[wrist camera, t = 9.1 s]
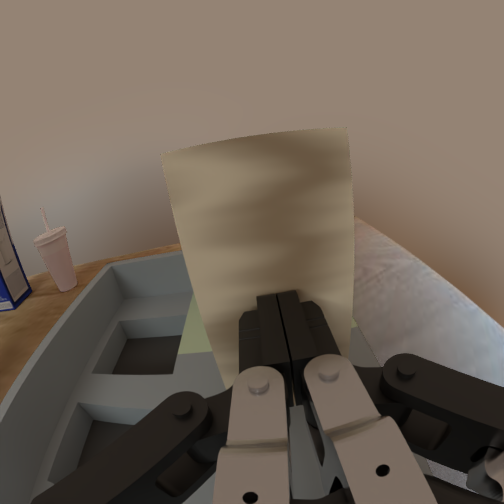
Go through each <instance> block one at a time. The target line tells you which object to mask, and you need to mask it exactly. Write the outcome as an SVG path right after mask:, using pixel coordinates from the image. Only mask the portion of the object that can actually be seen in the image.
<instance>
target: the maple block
mask: <svg viewBox="0 0 504 504" xmlns="http://www.w3.org/2000/svg"><path fill="white" fill-rule="evenodd" d="M160 155H161V160H162V165H163V170H164V175H165V180H166V185H167V189H168V194H169V198H170V203H171V207H172V212H173V216H174V220H175V224H176V228H177V232H178V236H179V240H180V244H181V248H182V252H183V256H184V259H185V263H186V267H187V270H188V274H189V277H190V281H191V284H192V288H193V291H194V295H195V298H196V301H197V305H198V308H199V311H200V314H201V318H202V321H203V324H204V327H205V330H206V333H207V336H208V339H209V342H210V345H211V348H212V351H213V354H214V357H215V360H216V363H217V366H218V369H219V371H220V374H221V377H222V380H223V382H224V385H225V388H226V390H227V389H229V388H230V387H231V386H232V385H233V383H234V381H235V379H236V377H237V376H238V375H239V319H240V318H241V316H242V314H243V313H244V312H245V311H252V310H257V300H256V296H262V295H269V294H275V295H276V299H277V293H281V292H287V291H293V290H296V292H297V295H298V297H299V300H300V302H306V301H311V300H312V301H313V302H314V303H316V304H317V305H318V306H319V307H321V310H322V312H323V314H324V317H325V319H326V321H327V323H328V326H329V328H330V330H331V332H332V335H333V337H334V339H335V342H336V344H337V346H338V349H339V351H340V353H341V355H342V357H345V358H346V359H348V356H349V346H350V336H351V324H352V309H353V290H354V209H353V188H352V175H351V162H350V151H349V142H348V133H347V127H345V128H344V127H343V128H323V129H309V130H297V131H287V132H278V133H269V134H262V135H254V136H247V137H241V138H235V139H229V140H224V141H217V142H212V143H207V144H202V145H197V146H193V147H188V148H184V149H179V150H175V151H170V152H167V153H162V154H160ZM277 304H278V301H277ZM292 389H293V388H292ZM293 400H294V405H296V403H295V398H294V393H293Z"/></svg>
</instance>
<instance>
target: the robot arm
mask: <svg viewBox="0 0 504 504" xmlns="http://www.w3.org/2000/svg"><path fill="white" fill-rule="evenodd" d="M256 300H257V310H252V311H245V312H244V313H243V314H242V316H241V318H240V319H239V375H238V376H237V377H236V379H235V381H234V383H233V385H232V386H231V387H230V388H229V389H227V390H225V391H224V392H222V393H219V394H216V395H213V396H210V397H208V398H203V397H202V396H201V395H200V394H198V393H195V392H191V391H182V392H177V393H175V394H172V395H170V396H169V397H167V398H166V399H165V400H164V401H163V402H161V403H160V404H159V405H158V406H157V407H156V408H154V409H153V410H152V411H151V412H150V413H148V414H147V415H146V416H145V417H144V418H142V419H141V420H140V421H139V422H137V423H136V424H135V425H134V426H132V427H131V428H130V429H129V430H127V431H126V432H125V433H124V434H122V435H121V436H120V437H119V438H117V439H116V440H115V441H114V442H112V443H111V444H110V445H108V446H107V447H106V448H104V449H103V450H102V451H101V452H99V453H98V454H97V455H95V456H94V457H93V458H91V459H90V460H88V461H87V462H86V463H84V464H83V465H82V466H80V467H79V468H77V469H76V470H75V471H73V472H72V473H70V474H69V475H68V476H66V477H65V478H63V479H62V480H60V481H59V482H57V483H56V484H54V485H53V486H51V487H50V488H48V489H47V490H45V491H44V492H42V493H41V494H39V495H38V496H36V497H35V498H34V499H33V500H32V502H31V504H182V503H183V502H185V501H186V500H187V499H188V498H189V497H190V496H191V495H192V494H193V493H194V492H195V491H197V490H198V489H199V488H200V487H201V486H202V485H203V484H204V483H205V482H206V481H207V480H208V479H209V478H210V477H211V476H212V475H213V474H214V473H215V472H216V476H215V485H214V493H213V502H212V504H504V387H501V386H498V385H495V384H492V383H489V382H486V381H483V380H481V379H478V378H475V377H472V376H469V375H467V374H464V373H461V372H458V371H456V370H453V369H450V368H448V367H445V366H442V365H440V364H437V363H434V362H432V361H429V360H426V359H424V358H421V357H419V356H416V355H413V354H407V353H404V354H397V355H395V356H393V357H391V358H390V359H388V360H387V361H386V363H385V364H384V367H359V366H356V365H353V364H351V362H350V361H349V360H348V359H346V358H345V357H342V355H341V353H340V351H339V349H338V346H337V344H336V342H335V339H334V337H333V335H332V332H331V330H330V328H329V326H328V323H327V321H326V319H325V317H324V314H323V312H322V310H321V307H319V306H318V305H317V304H316V303H314V302H313V301H312V300H311V301H306V302H300V300H299V297H298V295H297V292H296V290H293V291H287V292H281V293H277V299H276V295H275V294H269V295H262V296H256ZM277 301H278V304H277ZM292 388H293V389H292ZM293 393H294V398H295V403H296V406H299V405H303V408H304V412H305V424H306V428H307V431H308V434H309V437H310V440H311V444H312V447H313V450H314V453H315V457H316V460H317V463H318V466H319V470H320V476H321V482H322V486H323V490H324V493H325V496H324V497H322V498H319V499H313V500H312V499H294V495H293V479H292V462H291V444H290V428H289V427H290V424H291V418H290V408H289V407H294V400H293ZM412 452H413V453H415V454H418V455H420V456H422V457H424V458H427V459H429V460H432V461H434V462H437V463H439V464H442V465H444V466H447V467H449V468H452V469H455V470H457V471H460V472H463V473H466V474H468V476H467V481H466V486H467V488H468V489H472V490H473V491H475V492H477V493H479V494H477V493H474V492H471V491H469V490H466V489H463V488H461V487H458V486H456V485H453V484H451V483H448V482H446V481H444V480H441V479H439V478H437V477H434V476H431V475H427V474H423V473H422V471H421V469H420V467H419V465H418V463H417V461H416V459H415V457H414V455H413V454H412Z"/></svg>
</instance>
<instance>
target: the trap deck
mask: <svg viewBox="0 0 504 504" xmlns="http://www.w3.org/2000/svg"><path fill="white" fill-rule="evenodd" d="M348 360H349V361H350V362H351V364H353V365H356V366H359V367H381V366H380V364H379V363H378V361H377V359H376V357H375V355H374V353H373V352H372V350H371V348H370V346H369V344H368V343H367V341H366V339H365V337H364V335H363V334H362V332H361V330H360V328H359V327H358V325H357V323H356V321H355V320H354V318H353V316H352V324H351V336H350V346H349V356H348ZM225 390H226V388H225V385H224V382H223V380H222V377H221V374H220V371H219V369H218V366H217V363H216V360H215V357H214V354H213V351H212V348H211V345H210V342H209V339H208V336H207V333H206V330H205V327H204V324H203V321H202V318H201V314H200V311H199V308H198V305H197V301H196V298H195V295H194V291H193V288H192V284H191V281H190V277H189V274H188V270H187V267H186V263H185V259H184V256H183V252H182V250H181V251H175V252H169V253H163V254H157V255H152V256H146V257H140V258H134V259H129V260H123V261H117V262H112V263H107V264H106V265H105V266H104V267H103V268H102V269H101V271H100V272H99V273H98V274H97V275H96V276H95V277H94V278H93V279H92V281H91V282H90V283H89V284H88V285H87V286H86V287H85V288H84V290H83V291H82V292H81V293H80V294H79V295H78V297H77V298H76V299H75V300H74V301H73V303H72V304H71V305H70V306H69V307H68V309H67V310H66V311H65V312H64V314H63V315H62V316H61V317H60V319H59V320H58V321H57V322H56V324H55V325H54V326H53V327H52V329H51V330H50V331H49V333H48V334H47V335H46V337H45V338H44V339H43V341H42V342H41V343H40V345H39V346H38V348H37V349H36V350H35V352H34V353H33V355H32V356H31V357H30V359H29V360H28V362H27V363H26V365H25V366H24V368H23V369H22V371H21V372H20V374H19V375H18V377H17V378H16V380H15V381H14V383H13V385H12V386H11V388H10V389H9V391H8V393H7V394H6V396H5V398H4V399H3V401H2V403H1V405H0V504H31V502H32V500H33V499H34V498H35V497H36V496H38V495H39V494H41V493H42V492H44V491H45V490H47V489H48V488H50V487H51V486H53V485H54V484H56V483H57V482H59V481H60V480H62V479H63V478H65V477H66V476H68V475H69V474H70V473H72V472H73V471H75V470H76V469H77V468H79V467H80V466H82V465H83V464H84V463H86V462H87V461H88V460H90V459H91V458H93V457H94V456H95V455H97V454H98V453H99V452H101V451H102V450H103V449H104V448H106V447H107V446H108V445H110V444H111V443H112V442H114V441H115V440H116V439H117V438H119V437H120V436H121V435H122V434H124V433H125V432H126V431H127V430H129V429H130V428H131V427H132V426H134V425H135V424H136V423H137V422H139V421H140V420H141V419H142V418H144V417H145V416H146V415H147V414H148V413H150V412H151V411H152V410H153V409H154V408H156V407H157V406H158V405H159V404H160V403H161V402H163V401H164V400H165V399H166V398H167V397H169V396H170V395H172V394H175V393H177V392H182V391H191V392H195V393H198V394H200V395H201V396H202V397H203V398H208V397H210V396H213V395H216V394H219V393H222V392H224V391H225ZM289 408H290V418H291V424H290V427H289V428H290V444H291V462H292V479H293V495H294V499H312V500H313V499H319V498H322V497H324V496H325V493H324V490H323V486H322V482H321V476H320V470H319V466H318V463H317V460H316V457H315V453H314V450H313V447H312V444H311V440H310V437H309V434H308V431H307V428H306V424H305V412H304V408H303V405H299V406H296V405H294V407H289ZM412 454H413V455H414V457H415V459H416V461H417V463H418V465H419V467H420V469H421V471H422V473H423V474H427V475H431V476H433V475H432V472H431V470H430V468H429V465H428V463H427V461H426V458H424V457H422V456H420V455H418V454H415V453H413V452H412ZM215 476H216V472H215V473H214V474H213V475H212V476H211V477H210V478H209V479H208V480H207V481H206V482H205V483H204V484H203V485H202V486H201V487H200V488H199V489H198V490H197V491H195V492H194V493H193V494H192V495H191V496H190V497H189V498H188V499H187V500H186V501H185V502H183V503H182V504H212V502H213V493H214V485H215Z"/></svg>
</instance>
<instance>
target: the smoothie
mask: <svg viewBox="0 0 504 504" xmlns="http://www.w3.org/2000/svg"><path fill="white" fill-rule="evenodd" d="M40 209H41V212H42V216H43V219H44V223H45V226H46V230H47V232H46V233H44V234H42V235H40V236H38V237H37V238H35V239H34V240H33V242H34V245H35V247H37V249H38V251H39V253H40V255H41V257H42V259H43V261H44V263H45V265H46V267H47V268H48V270H49V272H50V274H51V276H52V278H53V280H54V281H55V283H56V285H57V287H58V288H59V290H60V291H61V292H65V291H68V290H70V289H72V288H73V287H75V286H76V285H77V279H76V275H75V272H74V268H73V264H72V261H71V256H70V252H69V248H68V243H67V238H66V232H67V231H66V229H65V226H62V227H58V228H55V229H52V230H50V229H49V226H48V223H47V219H46V216H45V212H44V208H43V207H42V208H40Z"/></svg>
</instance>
